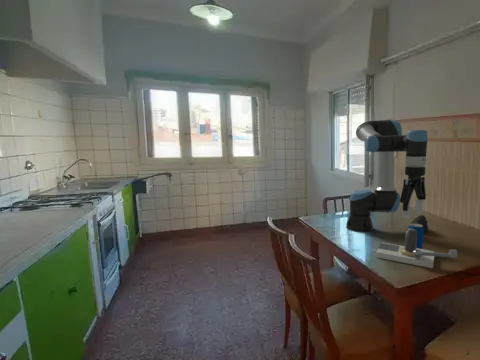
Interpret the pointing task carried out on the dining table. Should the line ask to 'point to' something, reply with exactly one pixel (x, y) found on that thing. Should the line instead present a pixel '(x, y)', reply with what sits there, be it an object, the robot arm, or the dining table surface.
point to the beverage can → (418, 234)
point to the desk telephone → (394, 254)
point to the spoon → (451, 253)
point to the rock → (421, 222)
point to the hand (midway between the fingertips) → (412, 215)
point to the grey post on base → (409, 242)
